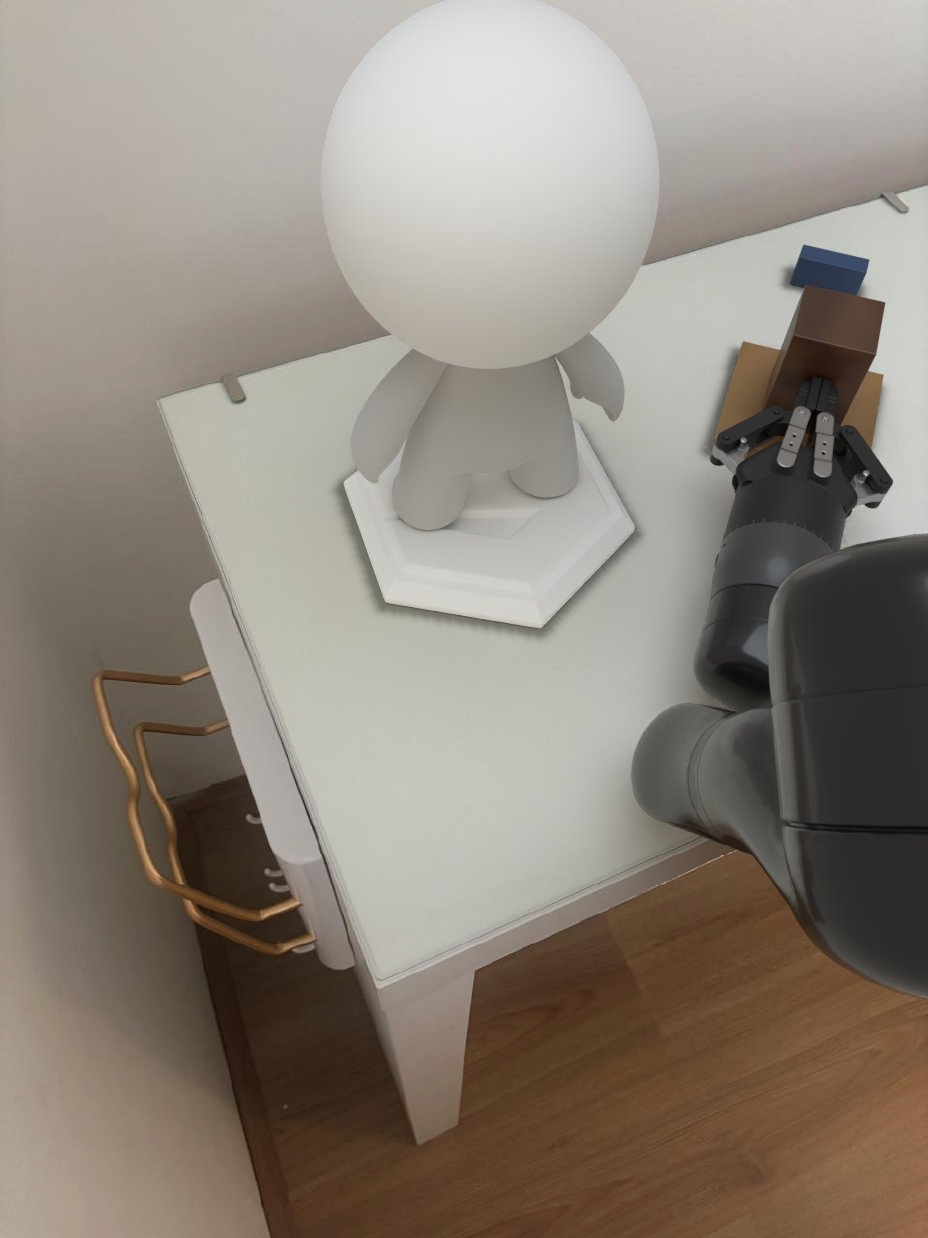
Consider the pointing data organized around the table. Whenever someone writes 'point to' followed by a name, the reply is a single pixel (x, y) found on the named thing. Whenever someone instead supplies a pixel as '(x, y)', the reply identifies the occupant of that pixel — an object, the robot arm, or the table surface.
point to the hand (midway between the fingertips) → (818, 386)
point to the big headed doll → (488, 297)
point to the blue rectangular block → (829, 270)
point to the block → (813, 363)
